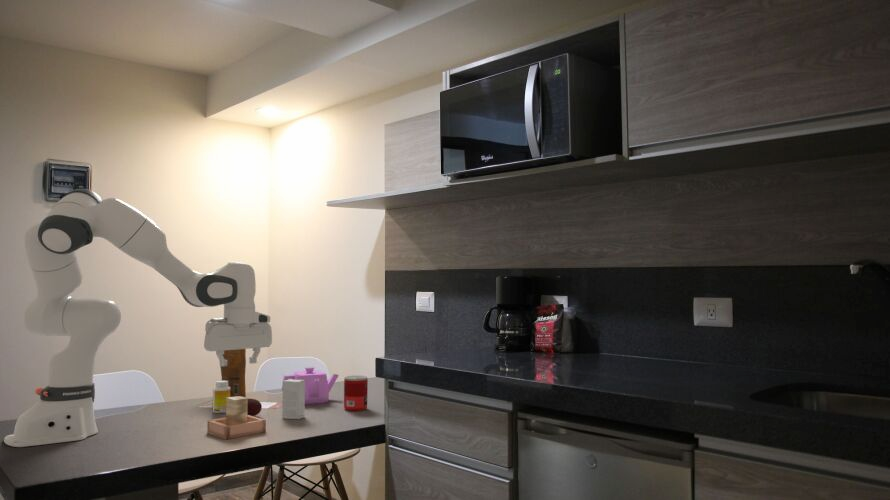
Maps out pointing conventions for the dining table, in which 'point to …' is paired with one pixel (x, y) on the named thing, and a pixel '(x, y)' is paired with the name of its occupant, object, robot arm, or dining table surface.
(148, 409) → the dining table surface
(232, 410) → the beige tall rectangular block
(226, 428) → the tray
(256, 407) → the potato
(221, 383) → the supplement bottle
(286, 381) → the skincare box
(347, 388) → the canned food
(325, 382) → the teakettle
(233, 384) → the pancake mix bag
